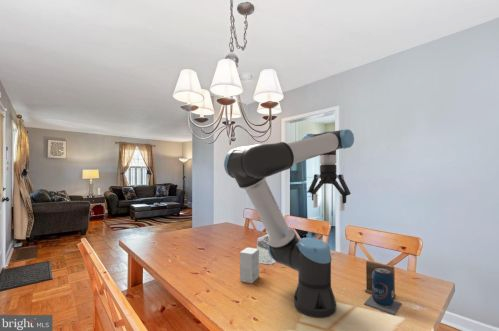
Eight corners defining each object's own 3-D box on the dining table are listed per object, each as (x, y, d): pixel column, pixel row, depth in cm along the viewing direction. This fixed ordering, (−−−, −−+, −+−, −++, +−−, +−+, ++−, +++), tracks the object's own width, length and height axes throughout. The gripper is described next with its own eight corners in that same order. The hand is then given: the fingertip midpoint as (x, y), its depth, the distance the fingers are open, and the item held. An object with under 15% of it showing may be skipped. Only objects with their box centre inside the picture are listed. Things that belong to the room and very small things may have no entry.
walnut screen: (392, 301, 93) (392, 269, 94) (365, 292, 100) (364, 262, 101) (395, 296, 97) (395, 265, 97) (369, 288, 104) (368, 259, 104)
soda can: (369, 302, 91) (369, 269, 92) (376, 296, 96) (375, 265, 96) (390, 310, 86) (389, 275, 87) (396, 302, 91) (395, 270, 91)
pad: (394, 315, 84) (394, 313, 84) (364, 304, 91) (364, 302, 91) (401, 304, 91) (401, 302, 91) (372, 295, 98) (372, 293, 98)
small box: (246, 274, 118) (247, 247, 118) (259, 276, 115) (259, 248, 116) (239, 281, 110) (239, 252, 111) (252, 283, 108) (252, 253, 108)
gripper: (357, 163, 111) (358, 210, 111) (309, 165, 129) (309, 205, 128) (351, 163, 106) (351, 212, 105) (301, 164, 123) (301, 207, 123)
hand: (328, 208), depth 117 cm, fingers open, 13 cm apart
